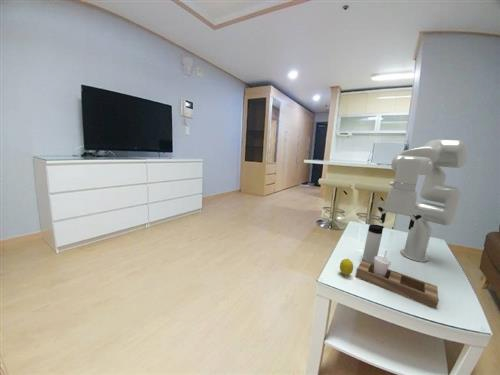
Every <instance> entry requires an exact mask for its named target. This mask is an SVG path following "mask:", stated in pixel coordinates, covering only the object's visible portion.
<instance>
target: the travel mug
mask: <svg viewBox="0 0 500 375" xmlns="http://www.w3.org/2000/svg"><path fill="white" fill-rule="evenodd" d="M384 228H385V226H384V225H380V224H373V223H371V224H369V225H368V228H367V234H366V239H365V244H364V249H363V255H362V259H361V261H362V260H364V261H367V262H370V263H373V264H374V257H375V256H379V250H380V246H381V241H382V236H383V232H384V231H383V230H384Z"/></svg>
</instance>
